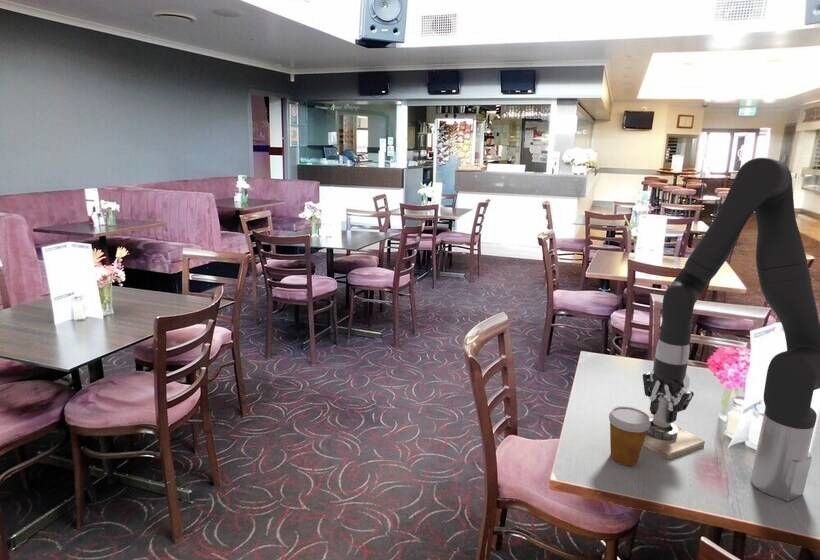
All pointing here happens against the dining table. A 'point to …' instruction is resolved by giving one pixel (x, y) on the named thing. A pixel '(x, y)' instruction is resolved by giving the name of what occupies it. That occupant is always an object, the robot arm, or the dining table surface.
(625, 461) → the disposable coffee cup
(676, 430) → the steel socket collar
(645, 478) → the dining table surface
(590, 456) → the dining table surface
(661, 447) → the birch base plate
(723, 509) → the dining table surface
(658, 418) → the rook chess piece
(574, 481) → the dining table surface
